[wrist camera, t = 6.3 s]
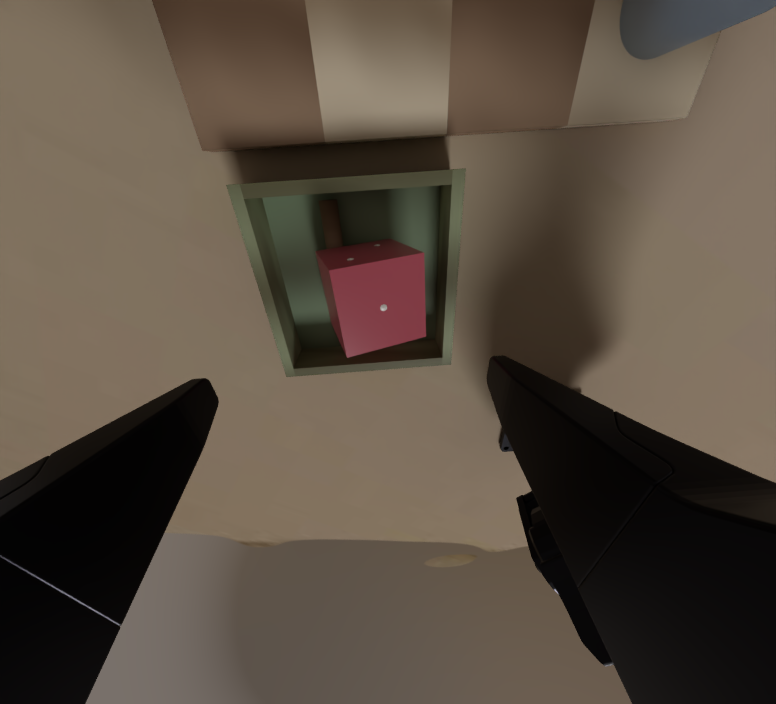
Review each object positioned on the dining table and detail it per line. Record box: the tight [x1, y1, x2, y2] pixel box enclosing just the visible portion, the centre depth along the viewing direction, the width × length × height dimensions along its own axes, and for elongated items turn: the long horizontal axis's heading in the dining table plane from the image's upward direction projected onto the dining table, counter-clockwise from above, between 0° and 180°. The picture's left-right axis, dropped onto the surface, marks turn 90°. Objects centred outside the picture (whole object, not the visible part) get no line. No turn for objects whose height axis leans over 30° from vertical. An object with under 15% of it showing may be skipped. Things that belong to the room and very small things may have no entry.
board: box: [152, 0, 721, 152], centre depth 12 cm, size 8×24×1 cm, turn 93°
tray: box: [226, 169, 466, 377], centre depth 17 cm, size 11×11×3 cm
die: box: [315, 238, 426, 358], centre depth 16 cm, size 4×4×5 cm
